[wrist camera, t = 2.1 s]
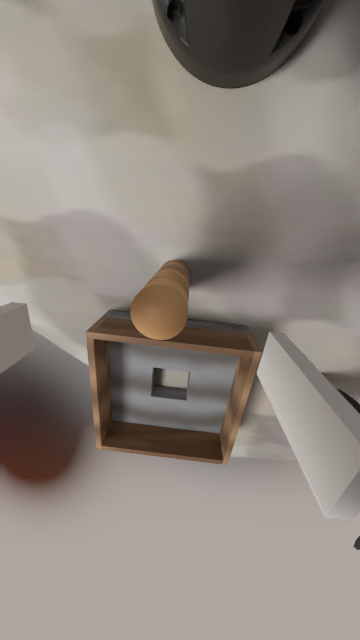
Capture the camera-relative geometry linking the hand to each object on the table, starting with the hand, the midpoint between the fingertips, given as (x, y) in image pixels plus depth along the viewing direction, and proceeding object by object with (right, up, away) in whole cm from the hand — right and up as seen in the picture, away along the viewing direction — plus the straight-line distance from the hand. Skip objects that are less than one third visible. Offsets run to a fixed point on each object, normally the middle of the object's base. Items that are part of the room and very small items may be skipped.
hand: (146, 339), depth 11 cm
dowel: (+1, +7, +16) cm, 17 cm away
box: (0, -8, +22) cm, 23 cm away
